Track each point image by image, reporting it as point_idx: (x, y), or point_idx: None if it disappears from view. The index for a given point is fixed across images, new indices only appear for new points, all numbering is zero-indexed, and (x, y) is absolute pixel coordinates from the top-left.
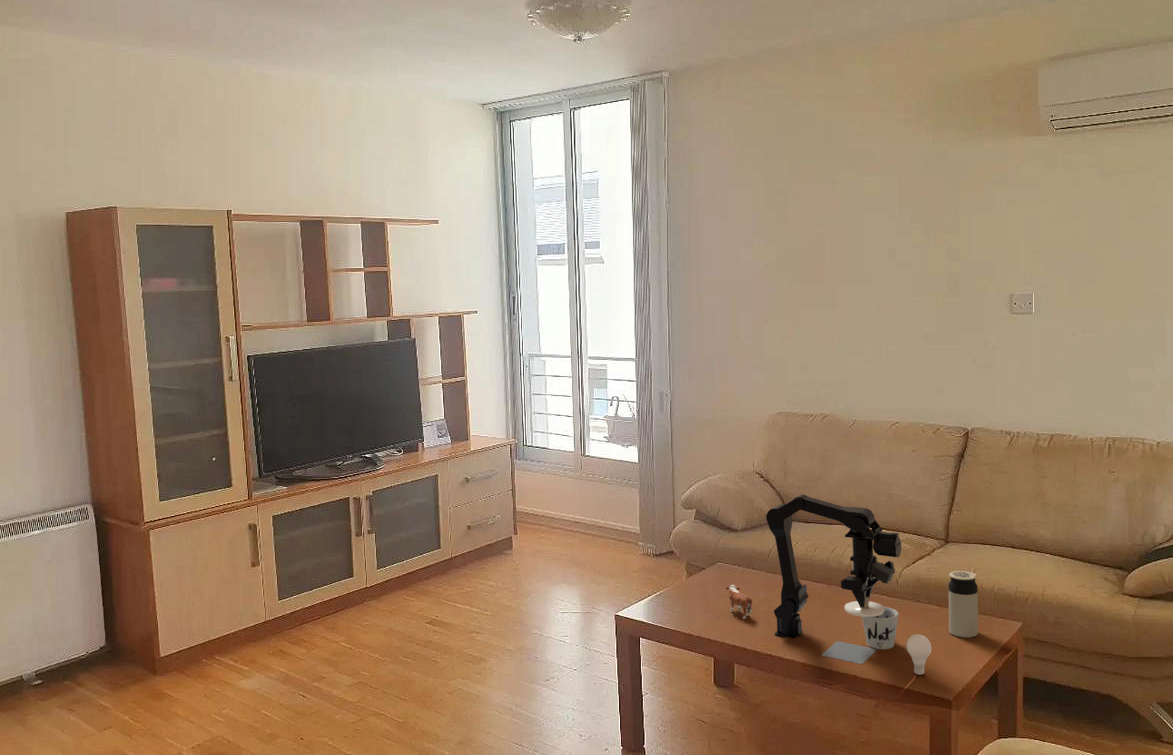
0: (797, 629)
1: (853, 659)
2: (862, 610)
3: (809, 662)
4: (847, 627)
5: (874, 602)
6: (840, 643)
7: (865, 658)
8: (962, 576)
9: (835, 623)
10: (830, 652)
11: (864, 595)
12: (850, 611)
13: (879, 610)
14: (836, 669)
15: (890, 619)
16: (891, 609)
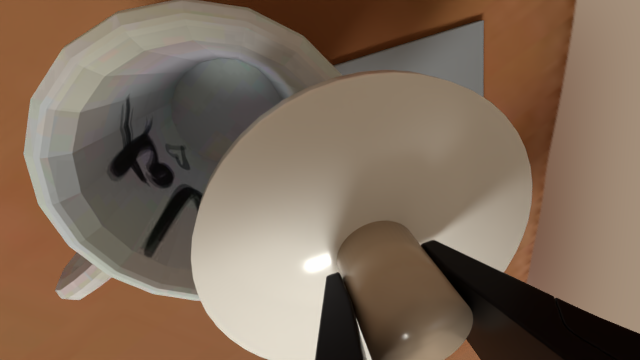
0: None
1: (458, 80)
2: (449, 217)
3: (537, 173)
4: (191, 302)
5: (197, 289)
6: None
7: (422, 48)
8: None
9: (199, 341)
10: None
11: (600, 323)
12: (513, 252)
13: (357, 118)
14: (554, 73)
15: (265, 17)
16: (52, 169)
